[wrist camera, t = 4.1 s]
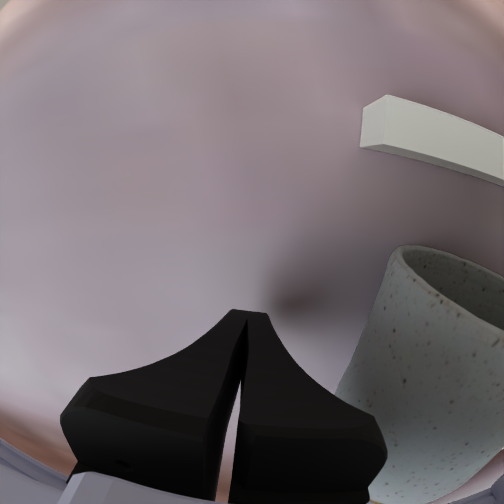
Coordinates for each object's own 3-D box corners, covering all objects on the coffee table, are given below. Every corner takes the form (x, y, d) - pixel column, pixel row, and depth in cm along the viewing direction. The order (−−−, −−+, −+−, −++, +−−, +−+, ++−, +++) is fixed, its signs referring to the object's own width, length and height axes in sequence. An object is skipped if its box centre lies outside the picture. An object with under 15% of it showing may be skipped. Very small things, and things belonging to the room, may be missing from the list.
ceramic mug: (305, 395, 13) (321, 541, 6) (362, 228, 11) (490, 339, 3) (466, 398, 13) (518, 487, 6) (527, 274, 11) (622, 342, 4)
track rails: (511, 420, 14) (524, 440, 11) (292, 448, 14) (293, 483, 12) (594, 203, 9) (619, 211, 6) (363, 107, 10) (387, 94, 7)
